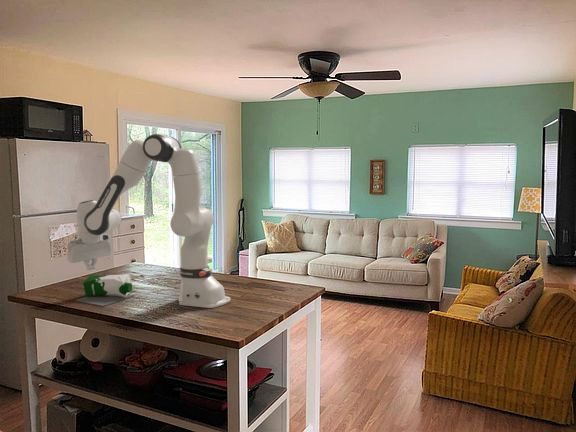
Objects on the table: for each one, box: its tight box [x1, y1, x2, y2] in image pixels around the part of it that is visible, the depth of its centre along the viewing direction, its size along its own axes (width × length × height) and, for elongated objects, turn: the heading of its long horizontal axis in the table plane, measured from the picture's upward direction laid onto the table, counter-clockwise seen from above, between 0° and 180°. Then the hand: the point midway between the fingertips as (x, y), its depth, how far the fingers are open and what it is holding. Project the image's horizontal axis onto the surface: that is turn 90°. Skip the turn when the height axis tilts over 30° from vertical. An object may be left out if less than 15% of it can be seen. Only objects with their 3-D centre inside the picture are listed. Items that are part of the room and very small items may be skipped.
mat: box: [75, 294, 134, 307], centre depth 205 cm, size 17×16×1 cm
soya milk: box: [82, 273, 133, 297], centre depth 208 cm, size 9×9×20 cm
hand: (90, 269), depth 207 cm, fingers closed
